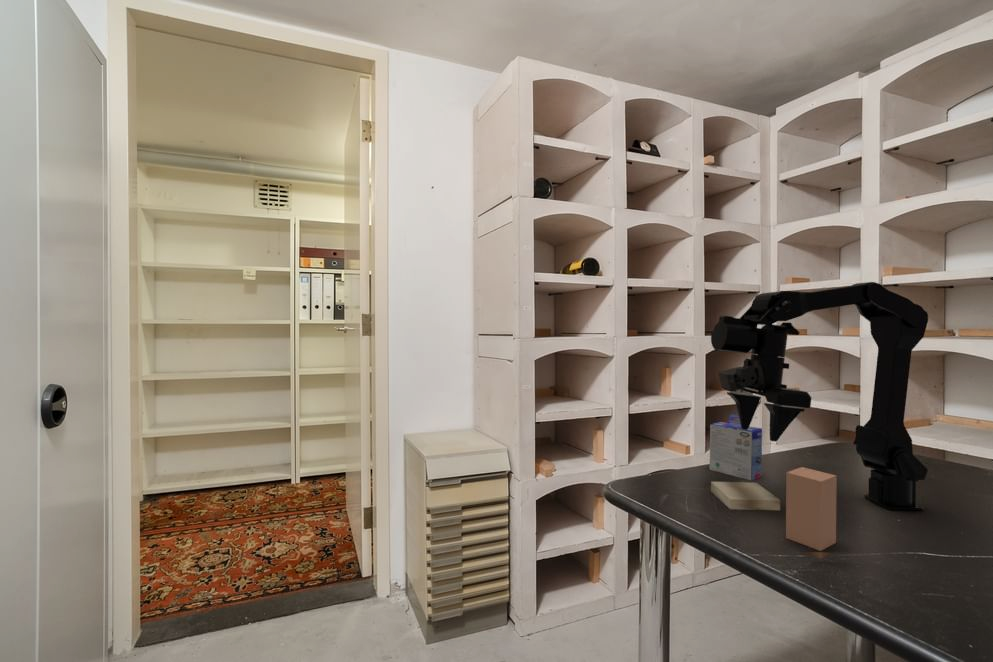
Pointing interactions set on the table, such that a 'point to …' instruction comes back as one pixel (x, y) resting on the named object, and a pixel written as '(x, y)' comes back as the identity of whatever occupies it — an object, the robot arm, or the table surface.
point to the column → (811, 509)
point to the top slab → (745, 496)
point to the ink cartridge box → (736, 449)
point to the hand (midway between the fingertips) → (758, 434)
